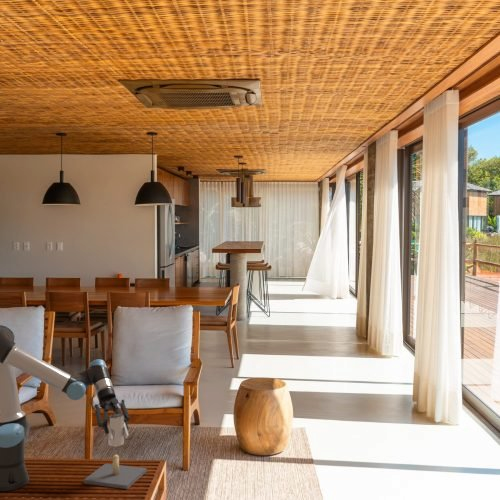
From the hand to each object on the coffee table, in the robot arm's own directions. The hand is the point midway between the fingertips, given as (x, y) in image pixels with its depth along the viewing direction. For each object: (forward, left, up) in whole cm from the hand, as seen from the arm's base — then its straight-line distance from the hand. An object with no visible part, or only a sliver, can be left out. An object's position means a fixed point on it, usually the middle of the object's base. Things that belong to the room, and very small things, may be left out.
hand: (119, 438), depth 239 cm
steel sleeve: (-3, +2, -3) cm, 5 cm away
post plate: (-3, +2, -18) cm, 18 cm away
